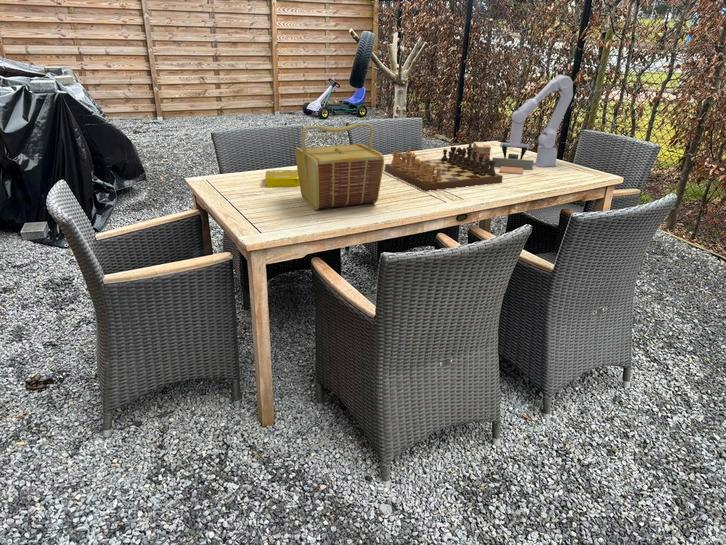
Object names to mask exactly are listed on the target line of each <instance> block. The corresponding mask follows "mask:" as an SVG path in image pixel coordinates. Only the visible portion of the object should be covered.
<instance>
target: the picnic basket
mask: <svg viewBox="0 0 726 545" xmlns="http://www.w3.org/2000/svg"><path fill="white" fill-rule="evenodd" d="M357 127H368V128H369V140H368V146H367V145H365V144H362V143H356V144H344V145H342V144H340V145H329V146H328V145H327V146H326V145H325V146H315V147H312V146H311V147H307V146H306V137H305V134H306V132H307V131H308V130H315V129H316V130H321V131H324V132H330V133H341V132H347V131H350V130H351V131H352V130H354V129H355V128H357ZM300 137H301V145H302V147H300V148H299V147H296V148H295V149H294V156H295V162H296V170H298V177H299V184H300V186H299V188H300V189H299V190H300V194H301V198H302V199H303V201H304V202H306V204H308V206H310V207H311V208H312V209H313V210H314V209H315V211H318V210H320V209H329V208H338V207H345V206H346V207H347V206H354V205H363V204H376V203H377V202H378V199H379V197H380V196H379V195H380V191H381V190H380V189H381V184H382V177H383V172H384V171H383V170H384V167H385V165H384V164H385V157H384V154H383V153H382V152H380V151H378V150H376V149H374V148H373V141H374V140H373V139H374V127H373V125H372V124H370V123H366V122H363V123H354V124H350V125H347V126H343V127H329V126H322V125H310V126H309V125H308V126H305V127H304V128H303V129H302V130H301V132H300Z"/></svg>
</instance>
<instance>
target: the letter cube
mask: <svg viewBox="0 0 726 545" xmlns="http://www.w3.org/2000/svg"><path fill="white" fill-rule="evenodd" d="M507 158H508V159H519V153H518V154H516V153H508V155H507Z"/></svg>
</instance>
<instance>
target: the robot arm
mask: <svg viewBox="0 0 726 545" xmlns="http://www.w3.org/2000/svg"><path fill="white" fill-rule="evenodd" d="M573 86H574V82H573V80H572V78H571V76H569V75H564V74H557V75H556V76H554V78H552V79H551V80H550V81H549V82H548V83H547V84H546V85H545V86H544V87H543V88H542V89H541V90H540V91H539V92H538V93H537V94H535V96H534V97H533V98H529V99H526V100H525V102H524V103H523V105H521V106H520V107H518V108H517V110H515V111H514V112H512V115H511V120H512V122H511V127H510V135H509V142H500V144H499V147H500V148H501V150H502V153H503V154H502V155H503V158H507V151H508V148H512V149H513V148H514V149H521V152H520V158H519V159H522V160H523V157H524V155H525V154H526V152H527V151H528V150H529V149H530V144H527V143H522V137H523V130H524V122H525V121H526V120H527V117H528V116H530V115H531V114H532V113H533V112H534V111H535V110H536V109H537V108H538V106H539V103H540V102H542V100H544V98H546V97H548V95H549V94H551V93H552V92H557V91H558V93H559V94H560V98H559V100H558V102H557V105H556V107H555V108H554V111H553V113H552V115H551V117H550V120H549V122H548V124H547V126H546V127H545V129H543V131H542V133H541V134H540V135H539V136H538V138H537V143H538V147H537V153H536V157H535V162H534V161H533V165H535V166H536V167H537V166H538V167H543V168H544V167H556V166H557V165H556V162H557V157H558V150H557V149H556V147H555V145H556V138H557V135H558V134H557V133H558V129H559V126H560V125H561V122H562V120H563V119H564V116H565V114H566V112H567V109H568V108H569V106H570V103H571V101H572V99H573V96H574V90H573V89H574V88H573Z"/></svg>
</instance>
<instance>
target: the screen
mask: <svg viewBox="0 0 726 545" xmlns="http://www.w3.org/2000/svg"><path fill="white" fill-rule="evenodd" d="M491 161H496V164H495V165H494V168H500V167H501V166H504V167H517V168H523V170H529V171H533V168H534V167H533V166H534V164H533V163H534V160H533V159H523V158H522V159H520V158H518V159H508V157H506V158H504V157H495V156H494V157H492V160H491Z"/></svg>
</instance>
